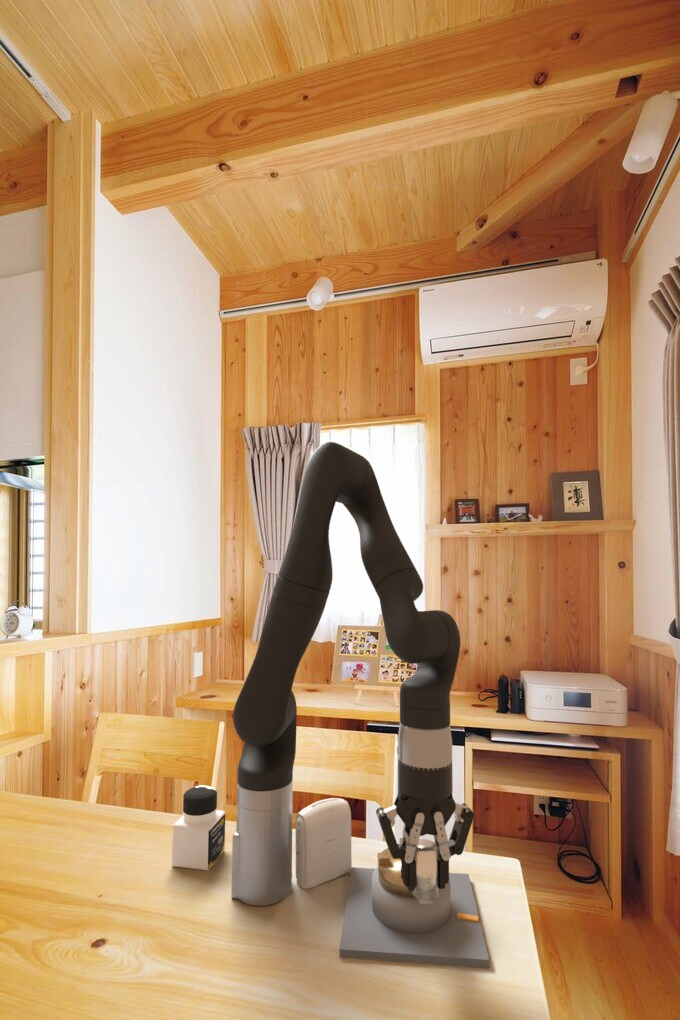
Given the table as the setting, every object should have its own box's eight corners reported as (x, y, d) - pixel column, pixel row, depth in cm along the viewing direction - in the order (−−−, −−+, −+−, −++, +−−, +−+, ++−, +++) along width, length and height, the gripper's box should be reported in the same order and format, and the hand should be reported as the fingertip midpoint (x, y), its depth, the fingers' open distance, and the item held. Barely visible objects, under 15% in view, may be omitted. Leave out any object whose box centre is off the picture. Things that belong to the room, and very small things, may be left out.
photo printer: (304, 893, 88) (304, 813, 89) (291, 880, 92) (291, 804, 93) (355, 873, 94) (355, 798, 95) (341, 861, 97) (341, 789, 99)
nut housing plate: (339, 957, 74) (339, 917, 74) (351, 873, 94) (351, 842, 94) (489, 968, 72) (488, 927, 72) (468, 880, 92) (468, 849, 92)
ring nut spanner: (374, 861, 88) (373, 799, 89) (434, 858, 89) (433, 797, 89) (391, 931, 71) (390, 854, 72) (465, 927, 72) (464, 851, 73)
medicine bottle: (208, 871, 94) (210, 799, 95) (171, 867, 96) (173, 796, 97) (225, 850, 101) (226, 783, 102) (190, 846, 103) (191, 780, 104)
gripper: (380, 768, 71) (380, 908, 69) (484, 763, 73) (485, 899, 71) (369, 748, 78) (368, 874, 76) (463, 745, 80) (464, 867, 78)
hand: (425, 885), depth 74 cm, fingers closed on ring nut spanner, 3 cm apart
